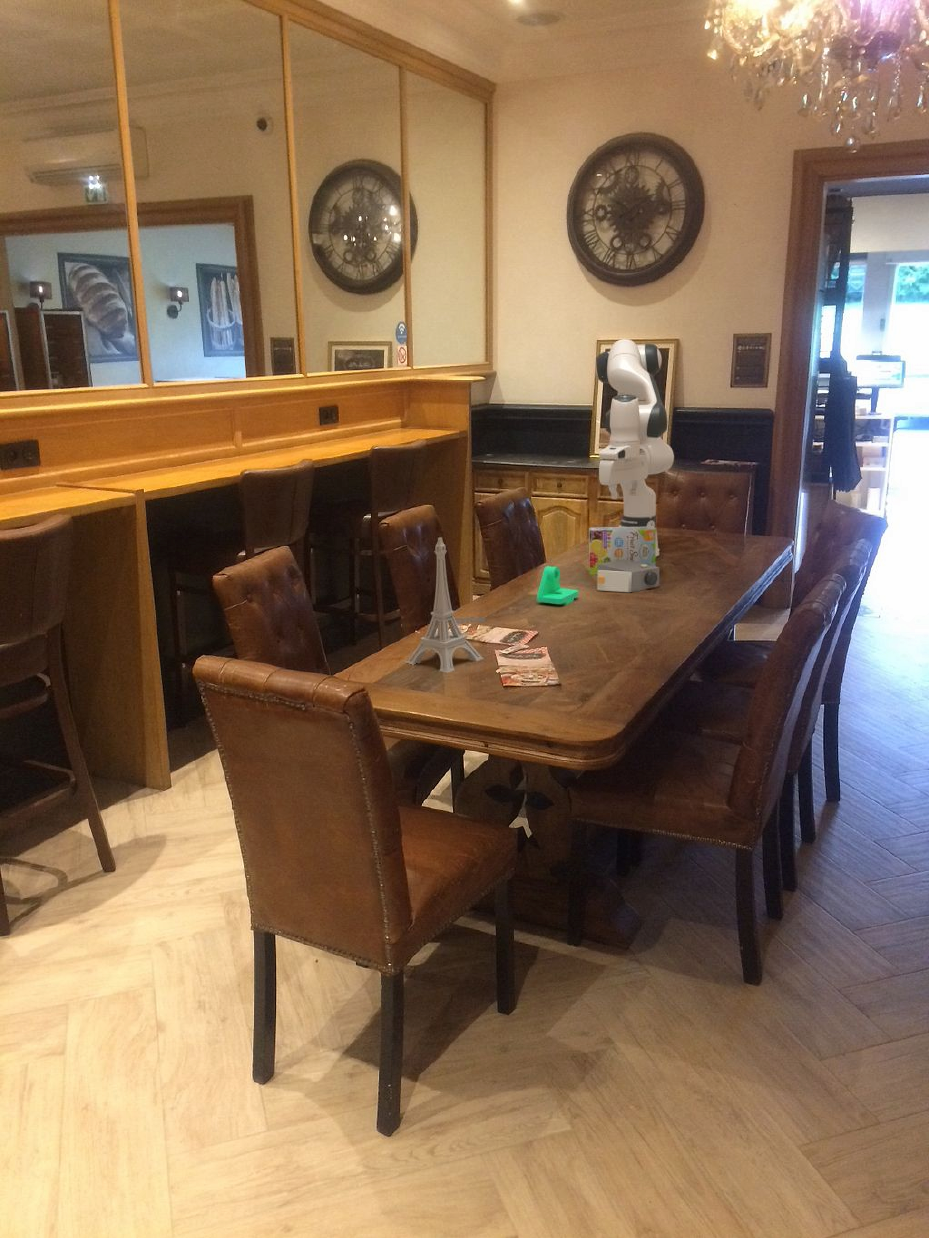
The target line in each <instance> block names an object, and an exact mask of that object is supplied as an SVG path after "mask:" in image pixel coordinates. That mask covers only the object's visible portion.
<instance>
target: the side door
mask: <svg viewBox="0 0 929 1238" xmlns="http://www.w3.org/2000/svg"><path fill="white" fill-rule="evenodd" d="M597 591H602V592H603V591H605V592H620V593H631V592H632V572H624V571H606V570H598V583H597Z"/></svg>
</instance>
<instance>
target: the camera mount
mask: <svg viewBox="0 0 929 1238" xmlns="http://www.w3.org/2000/svg"><path fill="white" fill-rule="evenodd" d="M560 577H561V570H560V568H559V567H557V566H550V565H549V566H548V565H546V566H545V567H544V569H543V572H542V575H541V580H540V584H539V587H538V591H537V594H536V602H537V603H538V602H539V603H544V604H545V603H546V604H552V605H565V606H566V605H567V606H568V605H569V604H571V603H573V602H575V600H574V599H576V598H577V597H578V596H579V590H577V589H570V588H562V587H561V583H560V581H559V580H560Z"/></svg>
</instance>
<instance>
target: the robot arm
mask: <svg viewBox="0 0 929 1238" xmlns="http://www.w3.org/2000/svg"><path fill="white" fill-rule="evenodd" d="M596 356H597V357H595V363H594V372H595V375H596V376H597V378H598V380H599V381H600V382H601V383H603V384H609V385H610V386H611V388H613V389H614V390H616V391H617V395H615V396H614V397H612V399H611V404H610V409H609V410H607V411H606V413H605V424H606V425H605V431H606V432H607V433H608V434H609V435H610V438H609V445H607V446H606V447H605V448H603V449H602V450H600V451H599V453H598V459H600V461H599V465H598V480H599V481H598V482H599V483H600V485H602V486H608V489H609V492H610V498H611V499H612V500H618V499H619V498H620V492H618V491H617V487H618V485H620V487H621V490H622V496H623V514H622V515H620V516H618V519H617V521H618V520H620V522H619V525H618V526H617V527H653V526H654V527H655V529H656V557H659V556H660V552H659V551H660V548H659V542H658V540H659V539H658V531H657V528H656V527H657V526H658V525H657V523H658V519H657V514H656V512H657V511H656V509H657V508H656V507H657V506H656V504H657V494H656V492H655V491H654V489H652V488H651V487H649V486H648V485H647V484H646V481H645V480H646V479H647V478H648V476H649V475H657V474H660V473H661V474H662V473H664V472H666V471H668V470H670V469H671V468H672V466H673V464H674V461H675V455H674V451H673V449H672V447H671V446H670V445H669V444H668V443H666V442H665V441H664V440H663V439H662V437H661V436H662V435H664V434H665V433H666V431H667V430H668V426H669V416H668V413H667V410H666V407H665V406H664V404H663V401H662V398H661V394H660V391H659V389H658V385H657V383H656V380H655V376H656V375H657V374H658V373H659V372H660V370H661V366H662V353H661V352H660V350H659V348H658V346H657V345H656V344H654V343H645V344H641V345H640V344H638V345H637V344H636V342H634V341H633V340H632V339H628V338H623V339H619V340H617V341H615V342H614V343H613V344H612V345H611V348H610V350H609V351H608V350H605V351H603V352H601V353H599V354H598V355H596Z"/></svg>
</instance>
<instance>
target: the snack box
mask: <svg viewBox="0 0 929 1238" xmlns="http://www.w3.org/2000/svg"><path fill="white" fill-rule="evenodd" d="M656 530H657V528H656V529H655V527H654V526H653V527H618V526H611V527H609V526H608V527H607V526H605V527H604V526H603V527H598V526H597V527H589V528H588V572H589V575H590V576H597V564H600V563H606V562H611V561H617V560H622V559H625V560H630V561H634V562H638V563H643V564H647V565H651V566H656V558H657V556H656Z"/></svg>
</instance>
